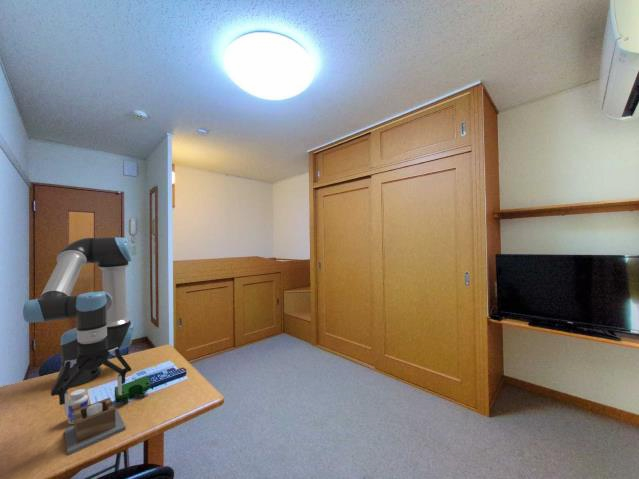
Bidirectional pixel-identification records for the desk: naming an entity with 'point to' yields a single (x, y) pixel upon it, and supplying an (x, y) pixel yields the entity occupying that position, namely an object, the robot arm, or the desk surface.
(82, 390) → the pill bottle
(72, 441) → the gray base with post
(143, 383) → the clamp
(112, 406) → the wooden box
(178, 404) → the desk surface
